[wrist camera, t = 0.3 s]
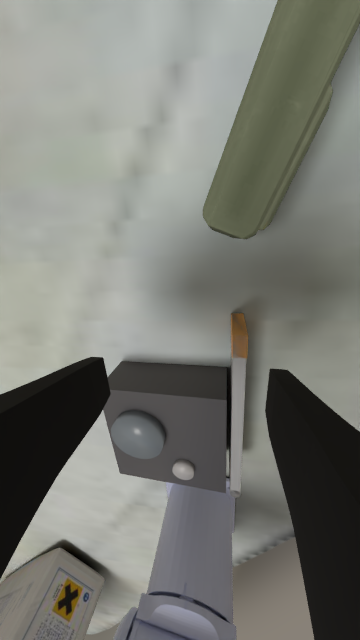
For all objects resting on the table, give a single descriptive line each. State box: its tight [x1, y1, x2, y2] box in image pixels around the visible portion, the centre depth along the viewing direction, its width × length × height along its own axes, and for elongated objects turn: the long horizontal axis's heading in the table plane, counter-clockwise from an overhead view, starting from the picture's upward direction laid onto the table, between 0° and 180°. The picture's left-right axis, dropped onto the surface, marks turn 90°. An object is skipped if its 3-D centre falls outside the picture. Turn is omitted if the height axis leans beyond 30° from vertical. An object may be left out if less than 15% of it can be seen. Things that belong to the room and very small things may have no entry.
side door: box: [229, 313, 248, 498], centre depth 16 cm, size 15×1×4 cm, turn 4°
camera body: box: [103, 362, 227, 493], centre depth 18 cm, size 10×10×5 cm
